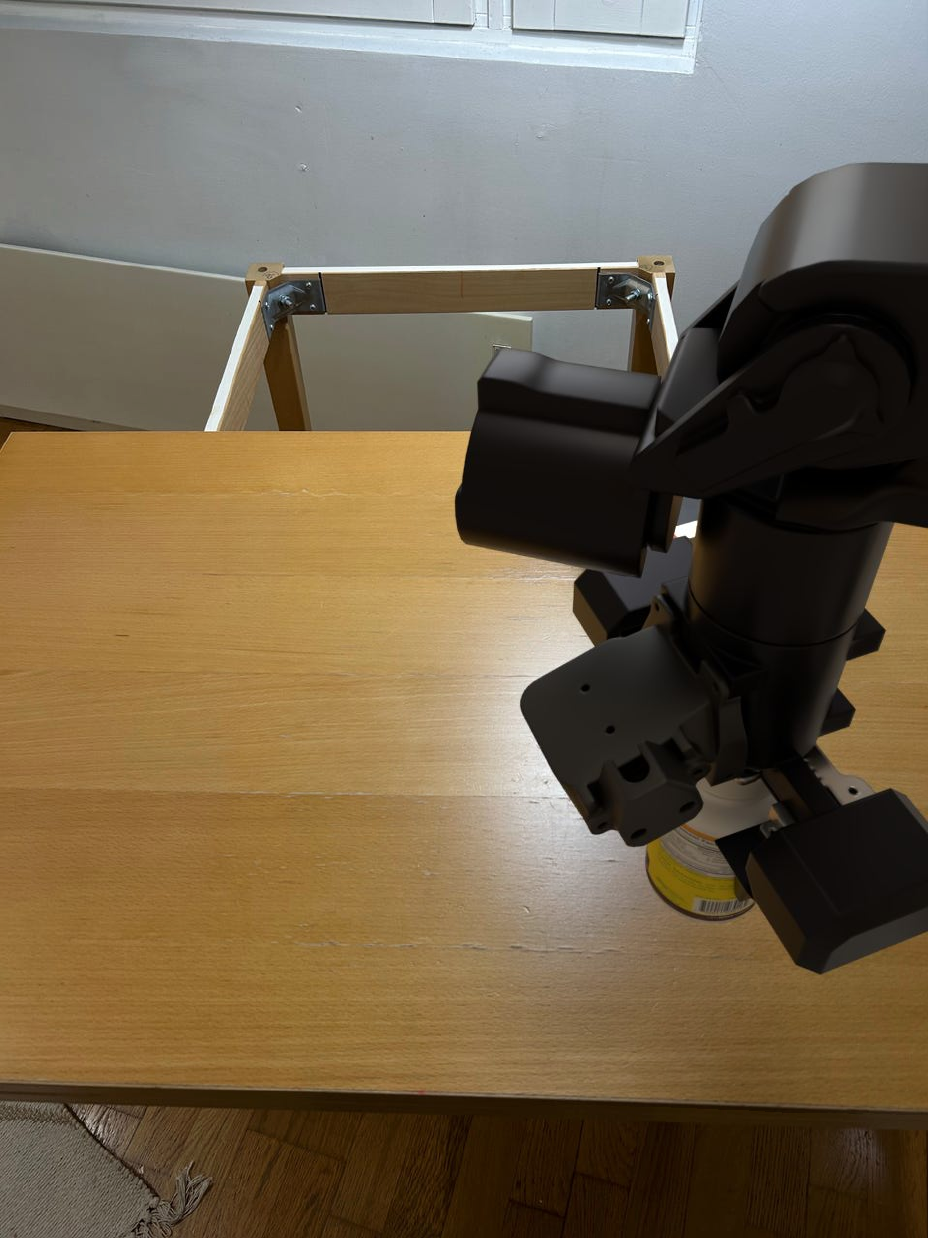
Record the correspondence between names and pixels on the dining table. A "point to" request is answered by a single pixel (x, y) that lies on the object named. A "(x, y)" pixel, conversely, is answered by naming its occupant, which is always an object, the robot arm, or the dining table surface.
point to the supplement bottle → (706, 854)
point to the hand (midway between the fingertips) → (711, 838)
